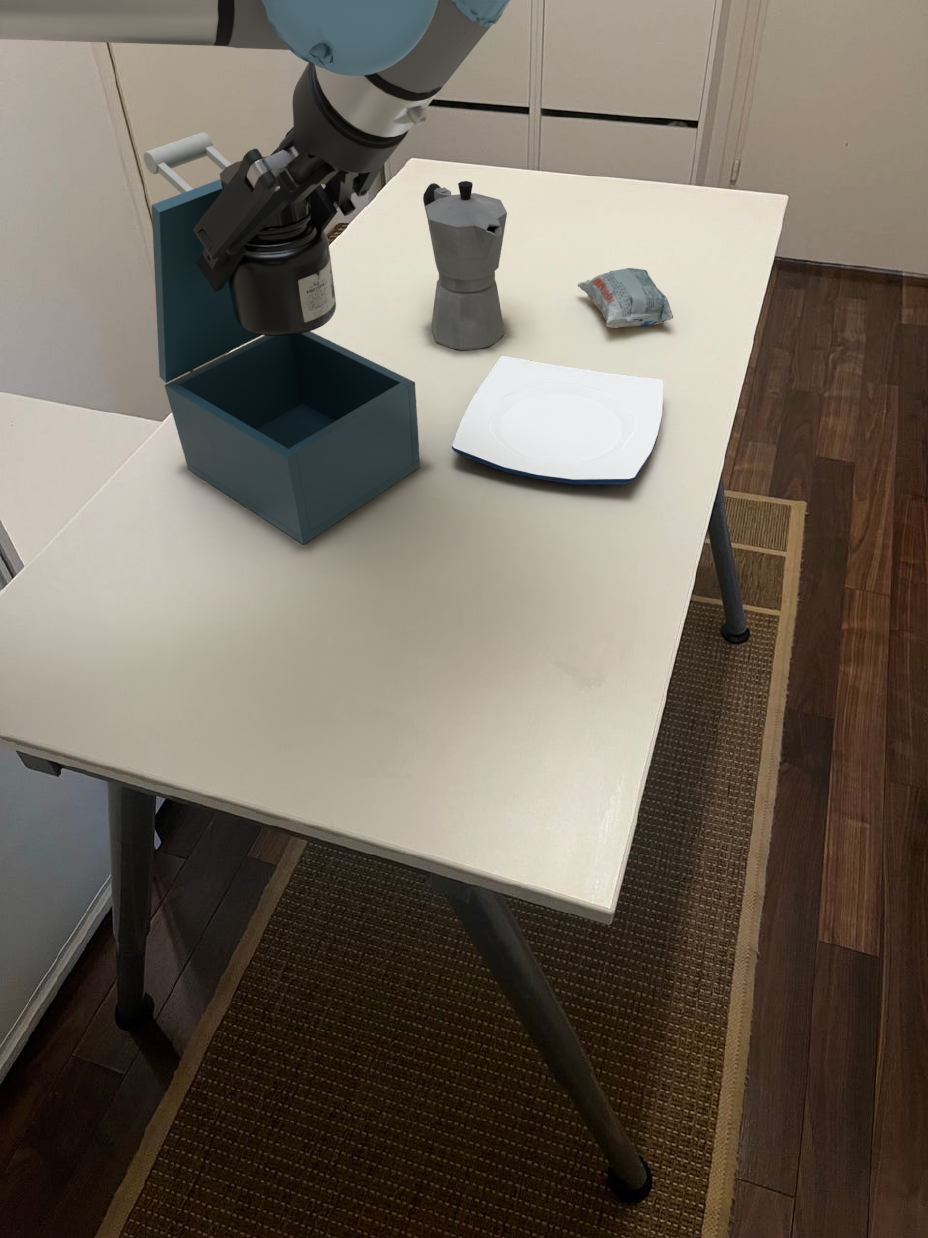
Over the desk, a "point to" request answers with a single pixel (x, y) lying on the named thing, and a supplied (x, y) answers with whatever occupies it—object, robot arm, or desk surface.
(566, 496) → the desk surface
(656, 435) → the plate
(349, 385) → the chest
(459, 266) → the coffeepot
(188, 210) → the lid
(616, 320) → the packaged food
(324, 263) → the ink bottle
